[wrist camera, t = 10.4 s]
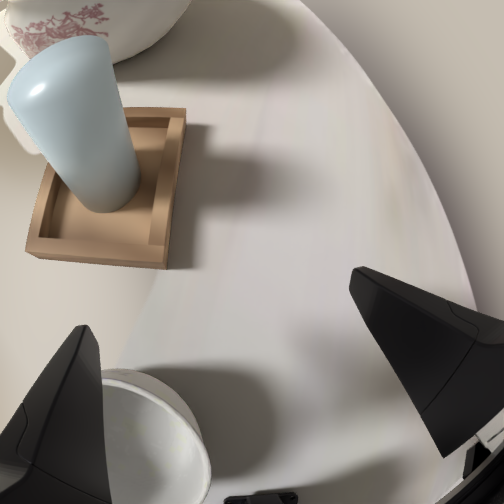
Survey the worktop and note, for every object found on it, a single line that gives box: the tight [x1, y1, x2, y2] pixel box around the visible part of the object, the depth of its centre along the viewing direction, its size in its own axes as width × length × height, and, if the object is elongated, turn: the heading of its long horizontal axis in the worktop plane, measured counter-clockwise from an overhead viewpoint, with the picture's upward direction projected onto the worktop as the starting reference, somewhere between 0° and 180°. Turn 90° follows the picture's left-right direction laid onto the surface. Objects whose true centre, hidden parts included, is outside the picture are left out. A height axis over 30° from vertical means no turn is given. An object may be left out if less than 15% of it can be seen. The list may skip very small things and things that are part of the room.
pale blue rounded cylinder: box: [7, 35, 141, 213], centre depth 16 cm, size 6×6×13 cm
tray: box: [25, 107, 186, 270], centre depth 22 cm, size 14×12×3 cm
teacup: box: [101, 369, 212, 504], centre depth 14 cm, size 14×11×8 cm
